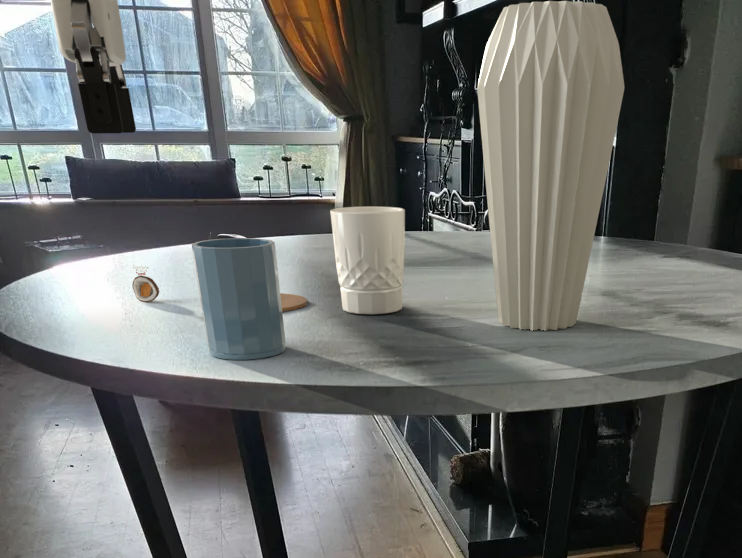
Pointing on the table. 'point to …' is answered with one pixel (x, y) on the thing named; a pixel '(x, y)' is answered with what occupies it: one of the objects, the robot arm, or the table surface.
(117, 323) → the table surface
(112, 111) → the robot arm
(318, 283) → the table surface
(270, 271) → the tumbler
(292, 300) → the cork coaster
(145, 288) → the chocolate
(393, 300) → the white cup
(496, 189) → the vase
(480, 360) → the table surface
